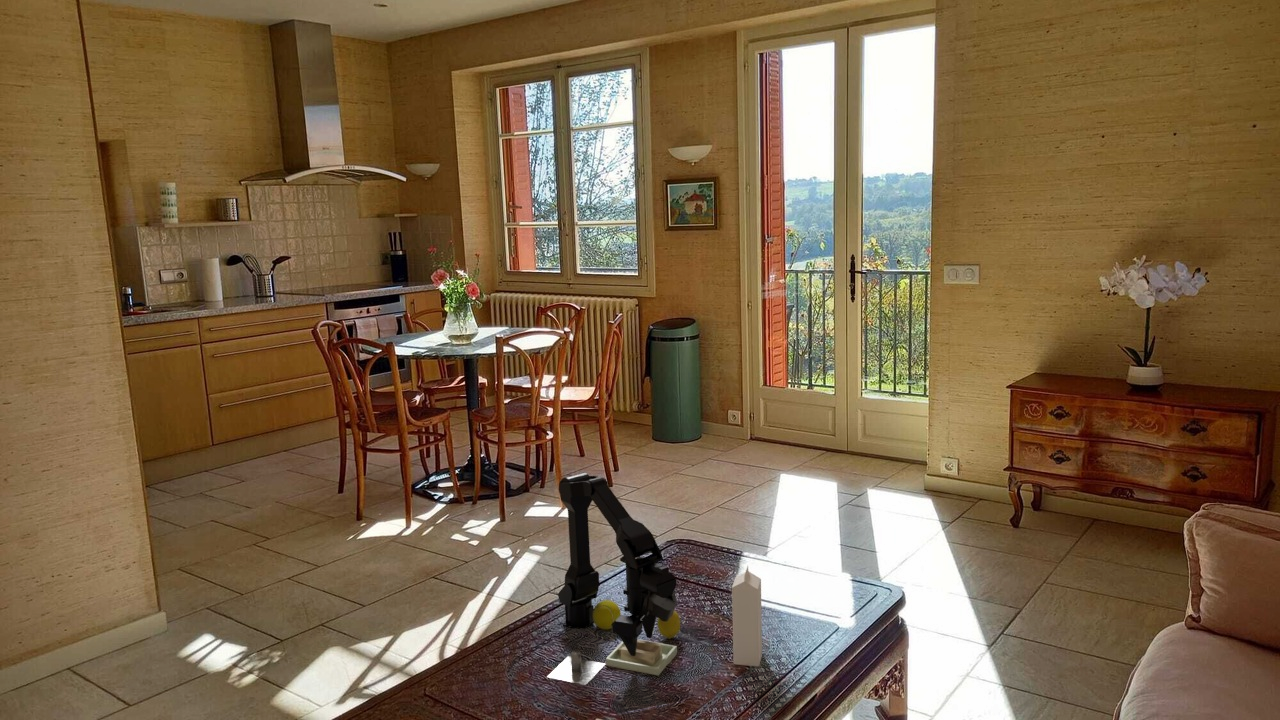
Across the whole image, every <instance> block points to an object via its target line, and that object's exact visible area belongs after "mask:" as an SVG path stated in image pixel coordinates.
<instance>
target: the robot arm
mask: <svg viewBox="0 0 1280 720" xmlns="http://www.w3.org/2000/svg"><path fill="white" fill-rule="evenodd" d="M558 492H559V497H560V501H561V503H562V504H563V505H564V507H565V508H566V509H567V521H568V522H567V523H568V537H569V538H568V540H569V558H570V565H569V567H568V569H567V571H566V572H565V575H564V585H563V587H562V588H561V589H560V590H559V592H558V593H557V597H558V600H559V603H560V604H562V605H564V613H565V614H564V615H565V621H563V623H562V626H563V627H568V628H574V629H577V630H578V629H582V630H585V629H586V628H588V627H589V626H590V625H591V624H592V623H594V620H593V610H594V608H595V606H594V605H593V602H592V600H593V599H596V598H597V597H598V592H599V589H600V586H601V584H600V573H599V571H598V570H596V569H595V568H594V567H593V565H592V563H591V549H590V531H589V530H590V527H589V508H590V505H591V504H592V502H593V503H594V505H596V508H597V509H598V510H599V512H600V513H601V514H602V516H603V517H604V518H605V520H606V521H607V523H608V524H609V525H610V527H611V529H613V532H614V533H615V544H616V545H617V547H618V548H619V550H620V552H621V554H622V556H621V557H620V558H619V560H620V562H622V563H624V564H625V579H626V583H625V585H626V587H625V588H624V589H623V595H626V604H625V605H624V606H623V611H624V612H629V614H630V615H625V614H621V615H620V616H619V617H618V618H617V619H616V620H615V621H614V622H613V623H612V624H611V627H612V629H611V632H612V634H615V635H617V636H618V637H619V638H620V639H621V642H622V641H623V643H624V645H625V646H626V648H627V650H628V651H629V653H630V655H631V656H635V655H636V648H637V639H638V637H639V636H640V635H641V634H642V633H643V631H644V632H645V636H646V638H648V639H652V636H653V633H654V628H655V624H656V621H657V619H658V618H659V619H660V620H662V621H664V622H666V621H668V619H669V618H670V617H671V616H672V615H673V612H674V611H675V609H676V607H677V606H678V603H677V601H678V600H677V596H676V591H675V590H676V587H677V579H676V576H675V575H674V573H672V572H670V569H669V566H666V565H662V564H660V562H662V561H664V557H663V554H662V550H661V549H660V547H659V545H658V543H657V541H656V538H655V537H654V535H653V533H652V532H651V531H650V530H649V529H648V527H646V526H645V525H644V524H643V523H642V522H640V521H638V520H635V519H634V518H632V516H631V515H630V514H629V513H628V511H627V510H626V509H625V507H624V505H623V504H622V503H621V502H620V500H619V499H618V497H617V496H616V495H615V493H614V492H613V490H611V488H610V487H609V484H608V481H607V479H606V478H605V477H602V476H598V475H589V474H588V473H587V472H581V473H576V474H573V475H569V476H566V477H562V478H561V480H560V481H559V482H558ZM650 553H651V555H648V554H650ZM645 555H647V556H645ZM644 556H645V557H644Z"/></svg>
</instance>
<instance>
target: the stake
mask: <svg viewBox="0 0 1280 720" xmlns="http://www.w3.org/2000/svg"><path fill="white" fill-rule="evenodd" d="M605 665H606V662H605V663H604V662H598V661H594V660H588V659H584V658H582V657H581V651H579V650H573V651H572V652H571V653H570V656H568V655H567V657H565V658H564V660H563V661H562V662H561V663H559V664H558V666H556V667H555V668H554V669H553V670H552V671H551V672H550V673H549V674H548V675H547V676H546V678H549V679H554V680H560V681H564V682H568V683H572V684H578V685H582V686H587V685H588V683H590V681H592V679H594V677H595V676H596V675H597V674H598V673H599V672H600V671H601V670H602V669H603V667H604V666H605Z"/></svg>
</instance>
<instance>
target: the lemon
mask: <svg viewBox="0 0 1280 720" xmlns="http://www.w3.org/2000/svg"><path fill="white" fill-rule="evenodd" d="M657 628H658V631H659V633H660V635H661V636H662V637H664V638H667V639H668V640H670V639H672V638H674V637H676V636H677V635H678V634H679V631H680V629H681V619H680V615H679V613H678V612H677V611H676V610H674V612H673V615H672V616H671V617H670V618H669V619H668V621H666V622H664V621H662V620H660V619H659V618H658V617H657Z"/></svg>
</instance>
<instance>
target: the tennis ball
mask: <svg viewBox="0 0 1280 720" xmlns="http://www.w3.org/2000/svg"><path fill="white" fill-rule="evenodd" d="M620 615H622V614H621V609H620V607H619V605H618V604H617V602H614V601H613V600H608V599H607V600H602V601H599V602H598V603H597V604H596V605H595V606H594V610H593V620H594V621H593V623H594V624H595V626H596V627H598V628H599V629H601V630H612V627H611V624H612V623H613V622H614V621H615V620H616V619H617V618H618V617H619V616H620Z"/></svg>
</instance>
